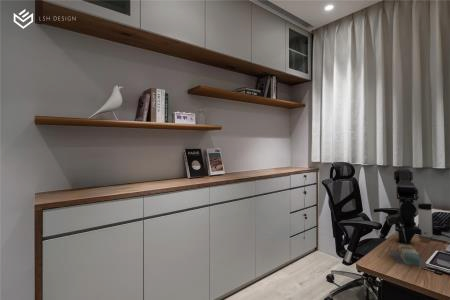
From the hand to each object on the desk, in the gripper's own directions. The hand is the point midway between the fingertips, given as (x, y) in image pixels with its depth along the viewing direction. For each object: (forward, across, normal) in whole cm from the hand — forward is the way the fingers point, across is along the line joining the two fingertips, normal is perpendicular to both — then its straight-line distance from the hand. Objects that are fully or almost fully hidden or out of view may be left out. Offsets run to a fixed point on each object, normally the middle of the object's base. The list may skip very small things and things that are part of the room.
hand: (407, 243), depth 114 cm
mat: (+8, -1, 0) cm, 8 cm away
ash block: (+5, -4, 0) cm, 6 cm away
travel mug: (+8, -40, +18) cm, 45 cm away
